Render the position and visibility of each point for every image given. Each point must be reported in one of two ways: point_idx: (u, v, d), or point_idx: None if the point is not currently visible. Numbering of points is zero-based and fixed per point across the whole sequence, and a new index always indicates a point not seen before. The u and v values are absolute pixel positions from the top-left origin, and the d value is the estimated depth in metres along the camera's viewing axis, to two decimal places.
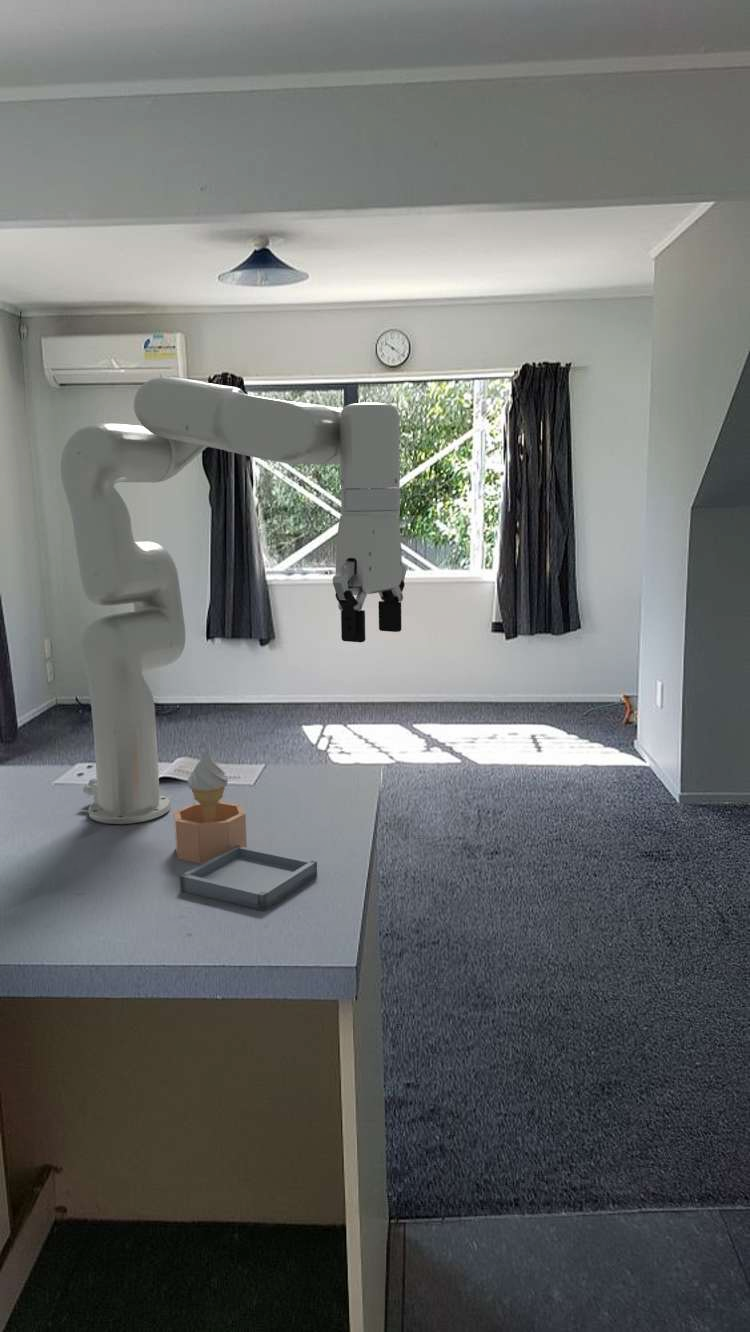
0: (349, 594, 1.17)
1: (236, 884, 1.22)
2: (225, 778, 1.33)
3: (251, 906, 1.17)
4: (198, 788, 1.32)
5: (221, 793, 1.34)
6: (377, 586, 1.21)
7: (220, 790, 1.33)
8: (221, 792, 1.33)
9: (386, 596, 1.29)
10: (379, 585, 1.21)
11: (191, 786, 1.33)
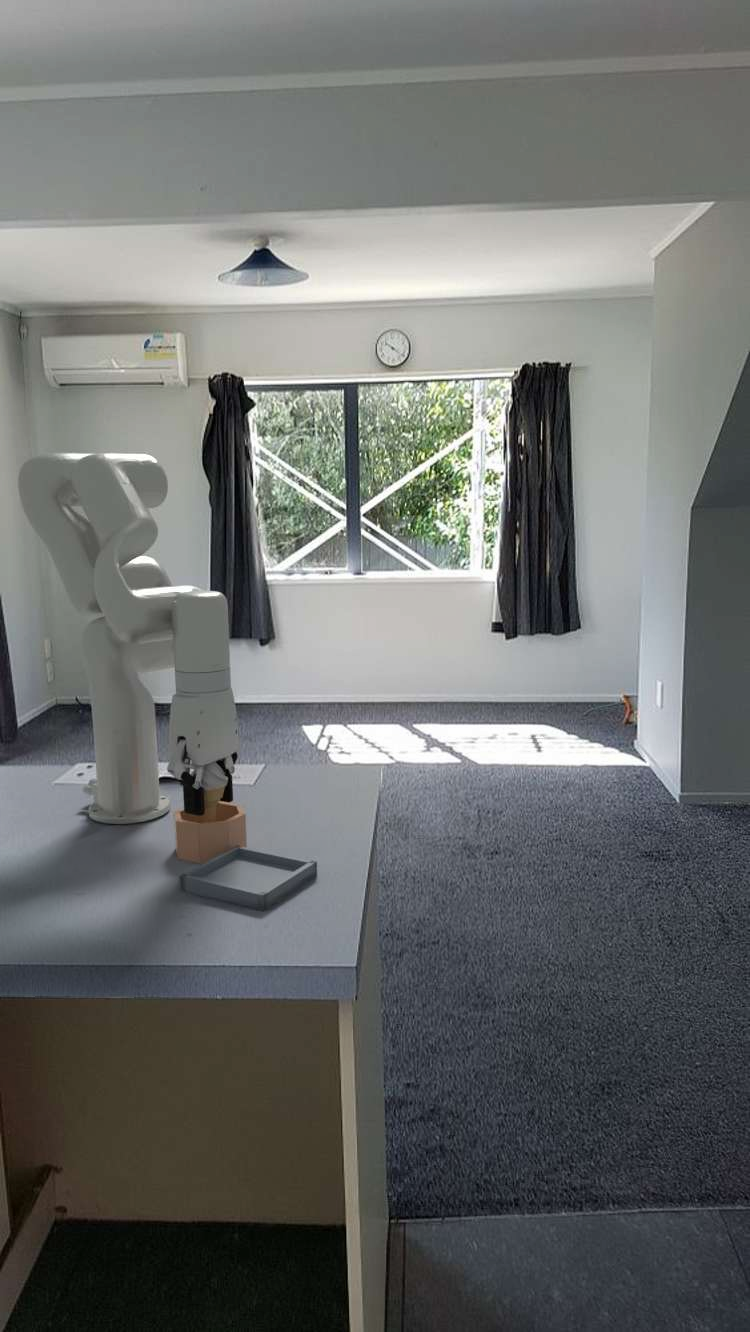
0: (186, 775, 1.28)
1: (236, 884, 1.22)
2: (225, 778, 1.33)
3: (251, 906, 1.17)
4: None
5: (221, 793, 1.34)
6: (208, 759, 1.30)
7: (220, 790, 1.33)
8: (221, 792, 1.33)
9: None
10: (210, 758, 1.31)
11: None
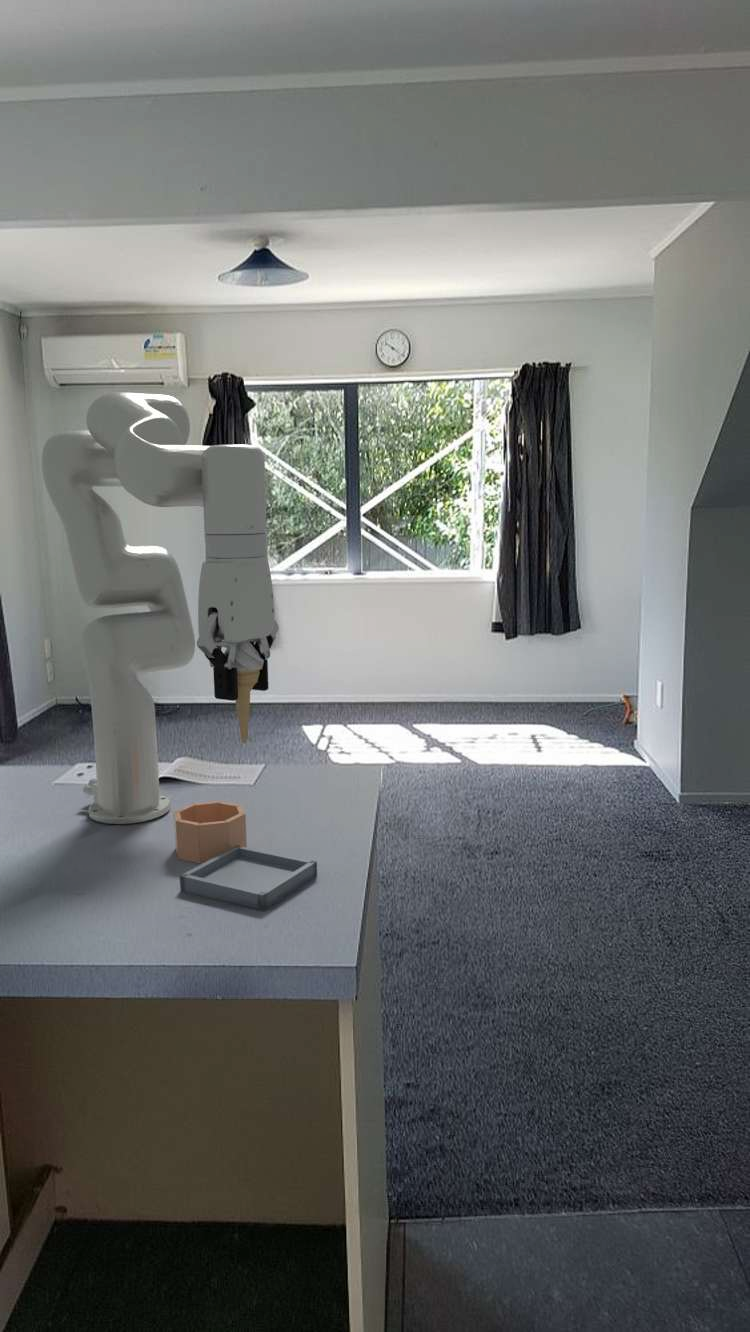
0: (218, 652, 1.13)
1: (236, 884, 1.22)
2: (261, 660, 1.18)
3: (251, 906, 1.17)
4: None
5: (256, 677, 1.18)
6: (242, 636, 1.15)
7: (255, 673, 1.18)
8: (256, 676, 1.18)
9: None
10: (245, 635, 1.16)
11: None
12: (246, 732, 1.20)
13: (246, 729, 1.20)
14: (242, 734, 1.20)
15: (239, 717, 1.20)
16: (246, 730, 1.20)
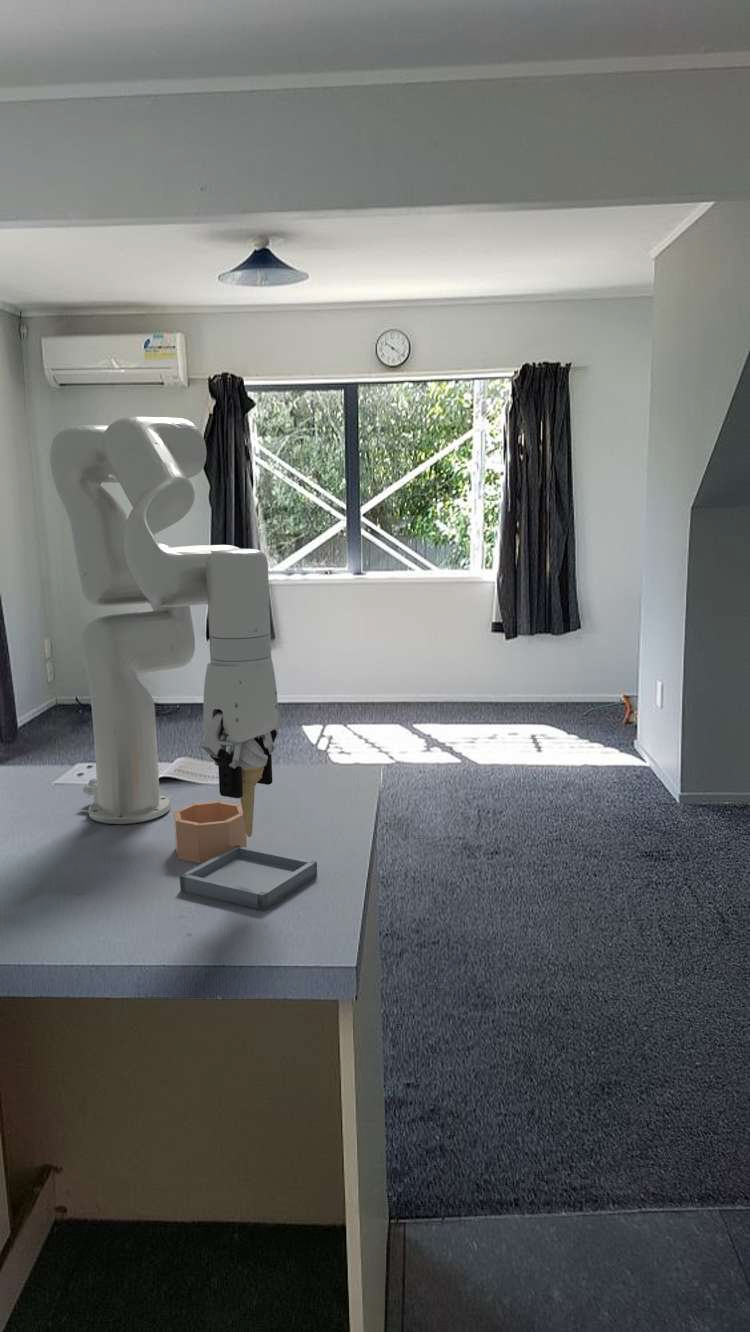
0: (223, 753, 1.15)
1: (236, 884, 1.22)
2: (265, 757, 1.20)
3: (251, 906, 1.17)
4: None
5: (260, 773, 1.21)
6: (246, 735, 1.17)
7: (259, 770, 1.20)
8: (260, 772, 1.20)
9: None
10: (249, 734, 1.18)
11: None
12: (251, 826, 1.22)
13: (251, 824, 1.22)
14: (247, 828, 1.22)
15: (244, 812, 1.22)
16: (251, 824, 1.22)
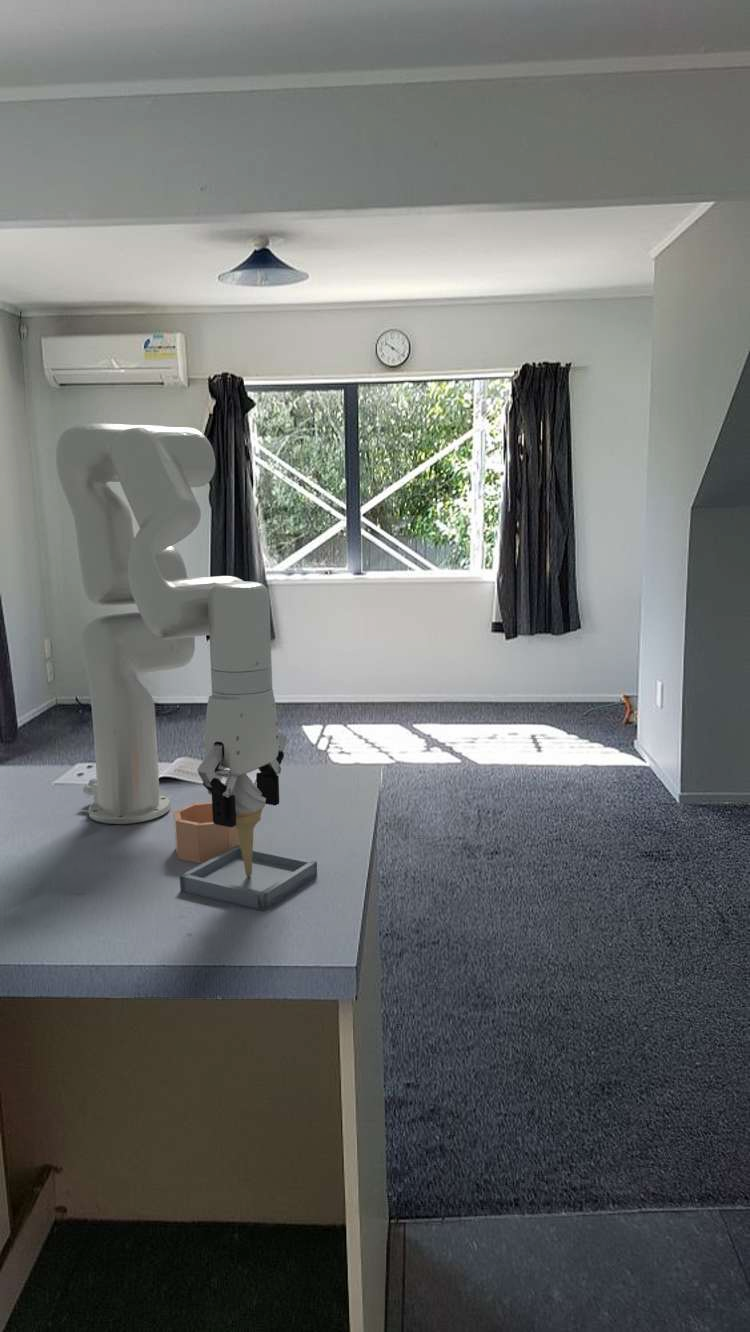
0: (216, 782, 1.15)
1: (236, 884, 1.22)
2: (263, 799, 1.21)
3: (251, 906, 1.17)
4: None
5: (259, 816, 1.21)
6: (248, 767, 1.18)
7: (258, 813, 1.21)
8: (259, 815, 1.21)
9: (264, 768, 1.26)
10: (250, 766, 1.19)
11: None
12: (250, 867, 1.23)
13: (250, 865, 1.23)
14: (246, 869, 1.23)
15: (243, 853, 1.23)
16: (250, 865, 1.23)
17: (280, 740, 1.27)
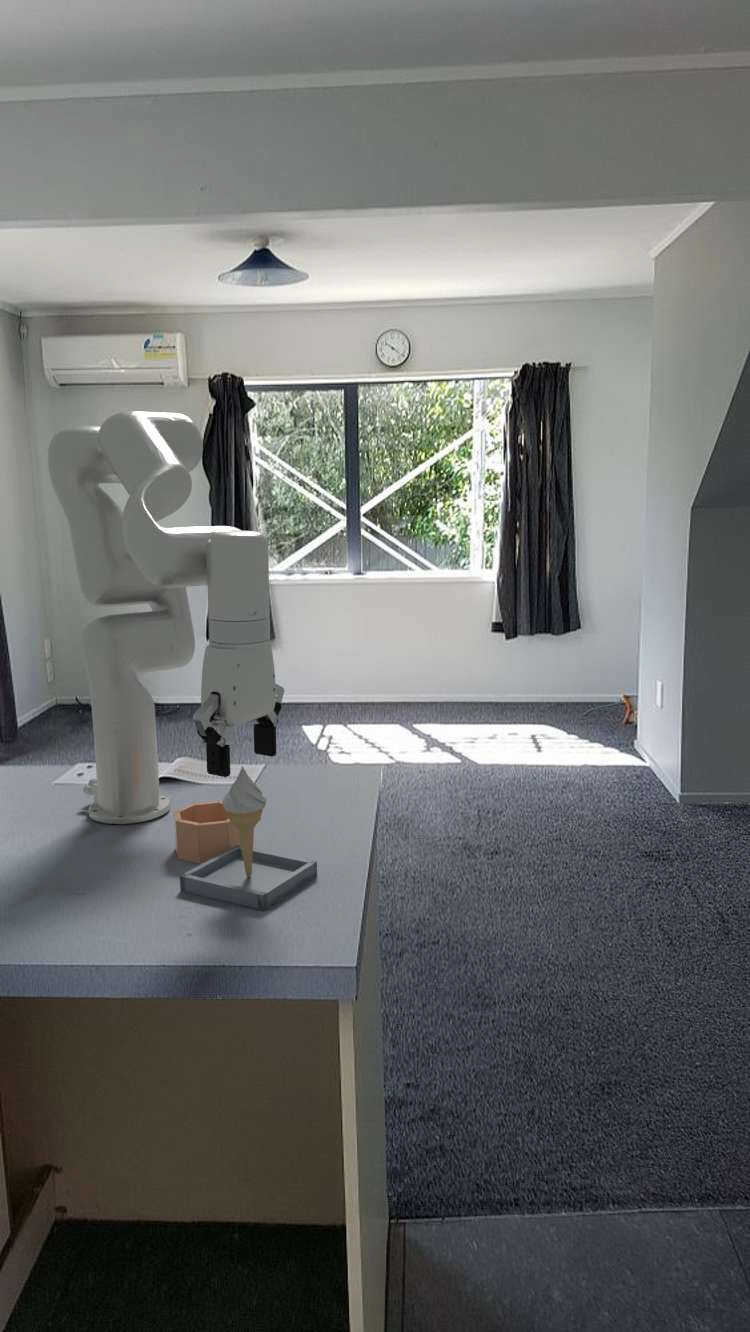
0: (211, 731, 1.14)
1: (236, 884, 1.22)
2: (264, 799, 1.21)
3: (251, 906, 1.17)
4: (234, 811, 1.20)
5: (259, 816, 1.22)
6: (244, 718, 1.17)
7: (258, 812, 1.21)
8: (259, 815, 1.21)
9: (261, 719, 1.25)
10: (246, 717, 1.18)
11: (226, 809, 1.21)
12: (250, 867, 1.23)
13: (250, 865, 1.23)
14: (246, 869, 1.23)
15: (243, 853, 1.23)
16: (250, 865, 1.23)
17: (277, 691, 1.26)
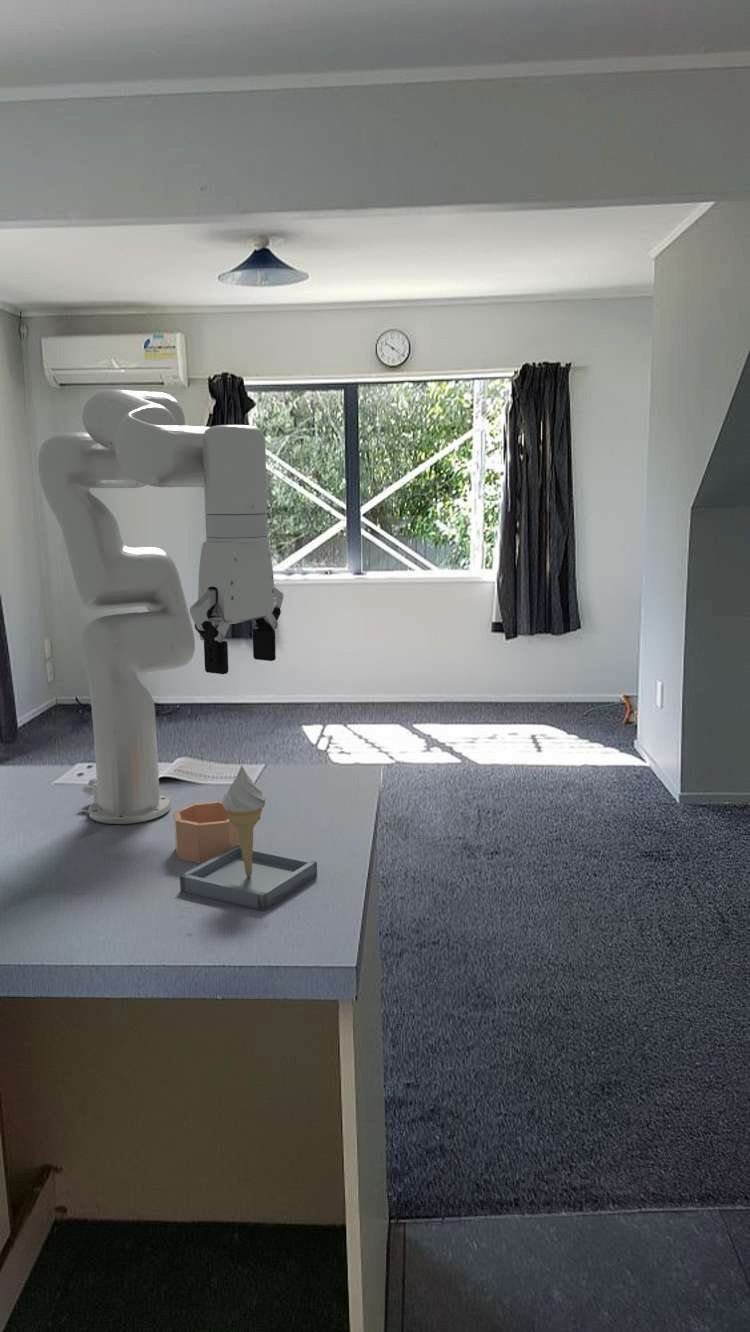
0: (208, 625, 1.13)
1: (236, 884, 1.22)
2: (263, 798, 1.22)
3: (251, 906, 1.17)
4: (234, 810, 1.20)
5: (259, 815, 1.22)
6: (242, 615, 1.16)
7: (258, 811, 1.21)
8: (259, 814, 1.22)
9: (260, 624, 1.24)
10: (244, 614, 1.17)
11: (226, 808, 1.21)
12: (250, 867, 1.23)
13: (250, 864, 1.23)
14: (246, 869, 1.23)
15: (243, 853, 1.23)
16: (250, 865, 1.23)
17: (276, 596, 1.25)
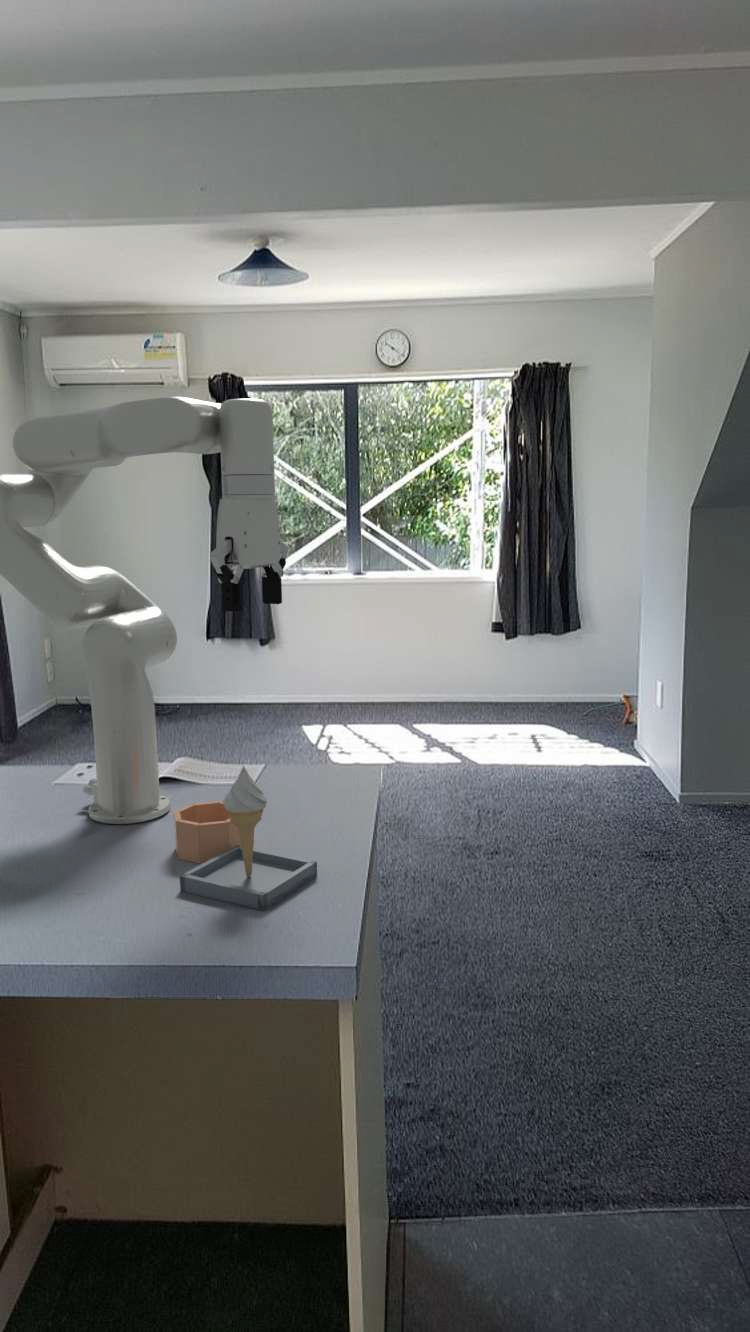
0: (225, 568, 1.32)
1: (236, 884, 1.22)
2: (264, 799, 1.22)
3: (251, 906, 1.17)
4: (235, 811, 1.20)
5: (260, 815, 1.22)
6: (253, 562, 1.36)
7: (259, 812, 1.21)
8: (260, 814, 1.22)
9: (268, 572, 1.44)
10: (256, 561, 1.36)
11: (227, 808, 1.21)
12: (250, 867, 1.23)
13: (250, 865, 1.23)
14: (246, 869, 1.23)
15: (243, 853, 1.23)
16: (250, 865, 1.23)
17: (282, 548, 1.44)
